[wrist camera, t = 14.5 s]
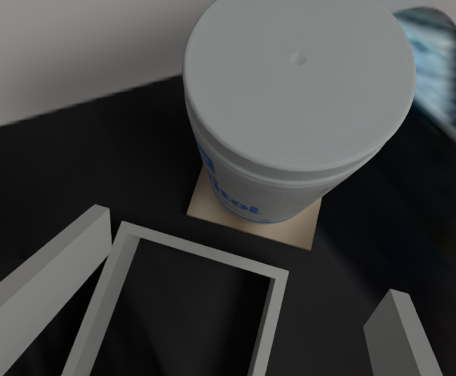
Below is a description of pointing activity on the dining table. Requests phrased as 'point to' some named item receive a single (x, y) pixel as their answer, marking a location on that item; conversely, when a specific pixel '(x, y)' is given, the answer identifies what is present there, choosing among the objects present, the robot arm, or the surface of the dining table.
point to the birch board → (281, 232)
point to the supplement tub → (293, 97)
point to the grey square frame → (115, 276)
